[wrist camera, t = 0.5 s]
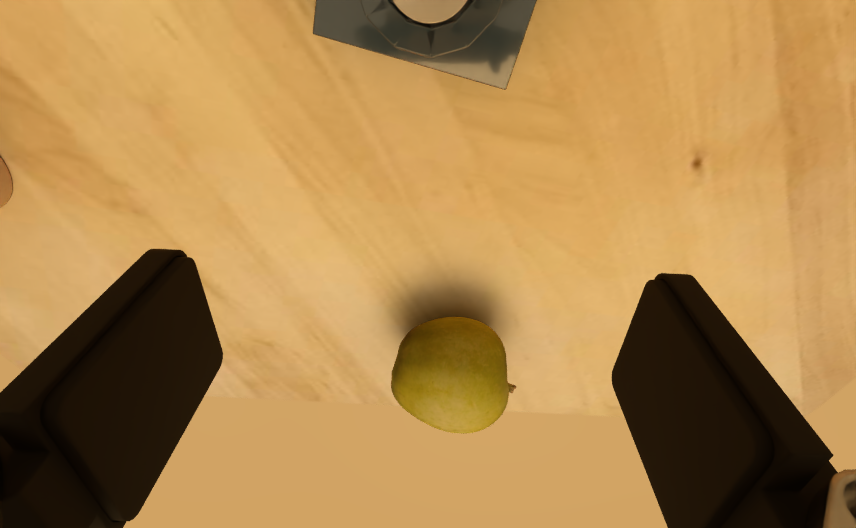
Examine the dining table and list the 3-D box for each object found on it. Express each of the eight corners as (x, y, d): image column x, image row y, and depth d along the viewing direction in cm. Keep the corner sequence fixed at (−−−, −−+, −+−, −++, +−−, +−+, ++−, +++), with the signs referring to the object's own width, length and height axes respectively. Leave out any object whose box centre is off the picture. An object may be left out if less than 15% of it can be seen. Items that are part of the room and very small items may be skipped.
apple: (502, 373, 38) (514, 460, 31) (395, 363, 38) (384, 448, 31) (521, 302, 34) (540, 386, 27) (400, 290, 33) (389, 372, 27)
